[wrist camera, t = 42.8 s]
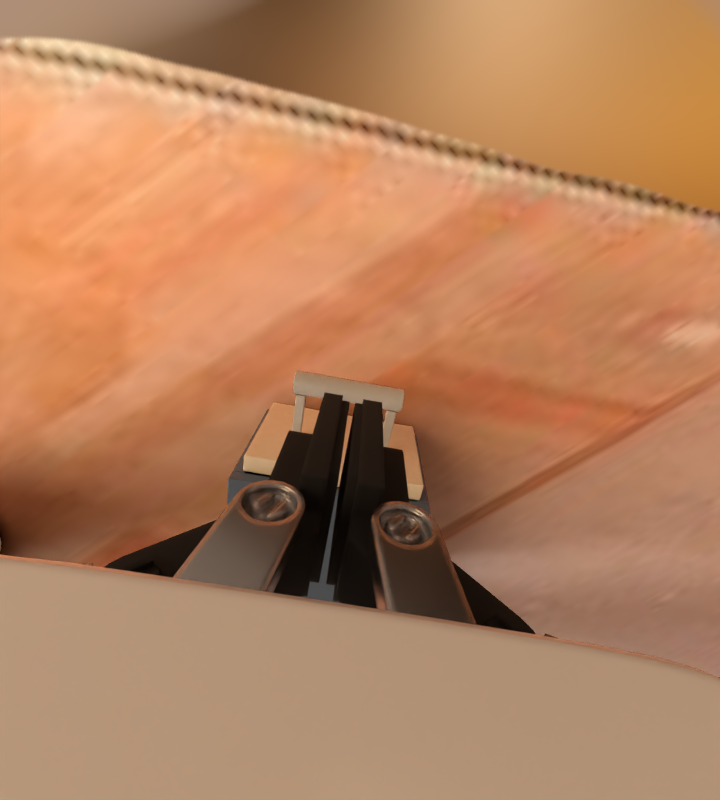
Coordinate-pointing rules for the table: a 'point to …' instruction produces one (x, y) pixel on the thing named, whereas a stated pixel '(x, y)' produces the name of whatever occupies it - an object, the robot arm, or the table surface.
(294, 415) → the drawer
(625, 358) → the table surface
